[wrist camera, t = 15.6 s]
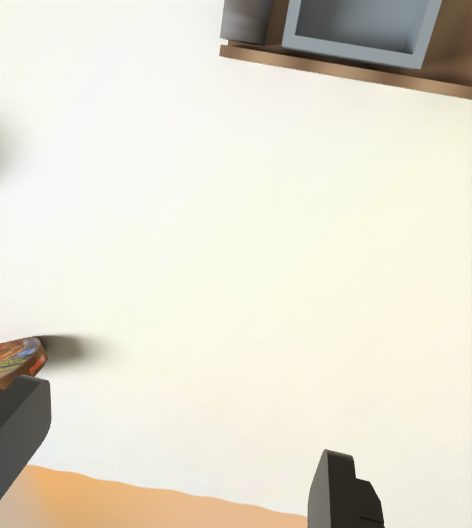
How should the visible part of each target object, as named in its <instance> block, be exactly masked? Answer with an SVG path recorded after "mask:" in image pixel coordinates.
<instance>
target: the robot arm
mask: <svg viewBox="0 0 472 528" xmlns="http://www.w3.org/2000/svg"><path fill="white" fill-rule="evenodd" d="M50 424H51V397H50V383H49V381H48V380H44V379H40V378H36V377H32V376H28V375H24V374H22V375H20V376H18V377H17V378H16V379H15V380H14V381H13V382H12V383H11V384H10V385H9V386H8V387H7V388H6V389H5V390H3V389H0V500H1V498H2V497H3V496H4V494H5V493H6V491H7V490H8V489H9V487H10V486H11V485H12V483H13V482H14V480H15V479H16V478H17V476H18V475H19V474H20V472H21V471H22V470H23V468H24V467H25V465H26V464H27V463H28V461H29V460H30V459H31V457H32V456H33V454H34V453H35V452H36V450H37V449H38V448H39V446H40V445H41V444H42V442H43V441H44V439H45V437H46V435H47V433H48V431H49V428H50ZM308 528H385V527H384V519H383V513H382V507H381V502H380V500H379V498H378V496H377V494H376V492H375V491H374V489H373V487H372V485H371V483H370V482H369V481H365V480H361V479H357V478H356V475H355V466H354V460H353V457H352V456H351V455H347V454H343V453H339V452H335V451H331V450H327V449H325V450H324V451H323V453H322V456H321V459H320V462H319V464H318V467H317V470H316V473H315V476H314V479H313V482H312V485H311V488H310V493H309V499H308Z"/></svg>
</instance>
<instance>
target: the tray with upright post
mask: <svg viewBox="0 0 472 528" xmlns="http://www.w3.org/2000/svg"><path fill="white" fill-rule="evenodd" d="M441 2H442V0H290V1H289V7H288V12H287V18H286V23H285V29H284V34H283V40H282V47H283V48H284V49H285V50H288V51H294V52H300V53H306V54H312V55H318V56H324V57H330V58H336V59H342V60H348V61H354V62H360V63H366V64H372V65H378V66H384V67H390V68H396V69H401V70H415V69H421V66H422V63H423V60H424V57H425V54H426V50H427V47H428V44H429V41H430V38H431V34H432V31H433V28H434V25H435V22H436V18H437V15H438V12H439V9H440V6H441Z"/></svg>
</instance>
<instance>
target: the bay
mask: <svg viewBox="0 0 472 528" xmlns="http://www.w3.org/2000/svg"><path fill="white" fill-rule="evenodd" d="M289 1H290V0H225V2H224V10H223V18H222V26H221V34H220V38H222V39H226V40H228V46H226V45H221V47H220V55H219V56H222V57H226V58H231V59H237V60H243V61H249V62H255V63H261V64H266V65H272V66H278V67H284V68H290V69H296V70H301V71H307V72H313V73H319V74H325V75H331V76H336V77H342V78H348V79H354V80H360V81H366V82H371V83H377V84H383V85H389V86H395V87H401V88H406V89H412V90H418V91H424V92H430V93H436V94H441V95H447V96H453V97H459V98H465V99H471V100H472V0H442V2H441V6H440V9H439V12H438V15H437V18H436V22H435V25H434V28H433V31H432V34H431V38H430V41H429V44H428V47H427V50H426V54H425V57H424V60H423V63H422V66H421V69H415V70H401V69H396V68H390V67H384V66H378V65H372V64H366V63H360V62H354V61H348V60H342V59H336V58H330V57H324V56H318V55H312V54H306V53H300V52H294V51H288V50H285V49H284V48H283V47H282V40H283V34H284V29H285V23H286V18H287V12H288V7H289Z"/></svg>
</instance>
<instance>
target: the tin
mask: <svg viewBox="0 0 472 528" xmlns="http://www.w3.org/2000/svg"><path fill="white" fill-rule="evenodd" d="M47 360H48V355H47V353H46V351H45V349H44V348H43V346H42V344H41V342H40V340H39V339H38V338H36V337H28V338H23V339H19V340H15V341H10V342H6V343H1V344H0V389H3V390H5V389H6V388H7V387H8V386H9V385H10V384H11V383H12V382H13V381H14V380H15V379H16V378H17V377H18V376H20V375H22V374H24V375H28V376H32V377H35V375H36V374H37V373H38V372H39V371H40V370H41V368H42V367H43V366H44V364H45V363H46V362H47Z"/></svg>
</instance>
